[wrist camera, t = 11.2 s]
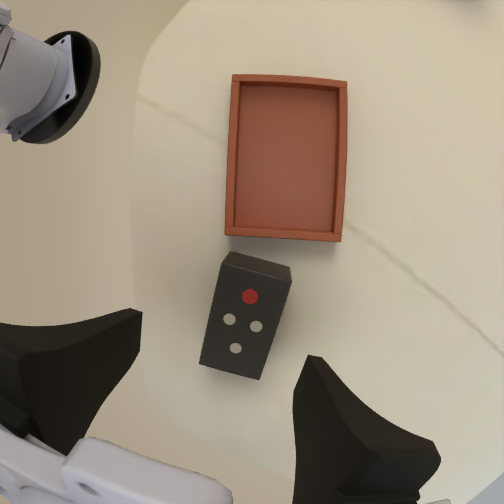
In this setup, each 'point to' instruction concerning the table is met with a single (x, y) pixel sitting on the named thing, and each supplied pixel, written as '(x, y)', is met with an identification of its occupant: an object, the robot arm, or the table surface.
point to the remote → (244, 314)
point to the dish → (286, 157)
